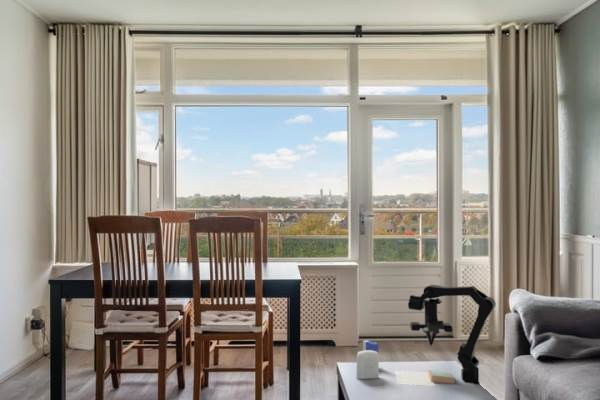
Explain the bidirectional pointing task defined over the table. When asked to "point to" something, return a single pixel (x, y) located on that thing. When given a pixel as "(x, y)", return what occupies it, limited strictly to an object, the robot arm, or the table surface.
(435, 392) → the table surface
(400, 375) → the mat
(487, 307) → the robot arm
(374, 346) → the walkman
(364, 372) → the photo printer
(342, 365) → the table surface
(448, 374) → the tile
